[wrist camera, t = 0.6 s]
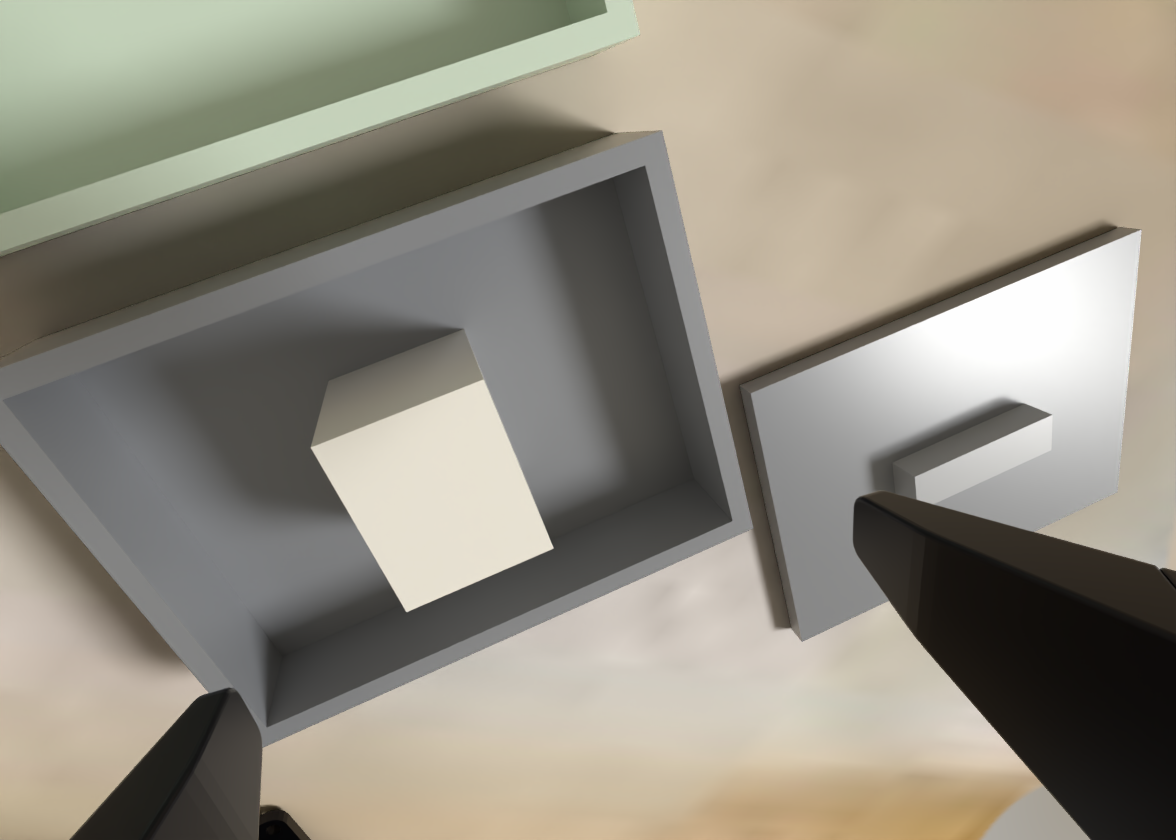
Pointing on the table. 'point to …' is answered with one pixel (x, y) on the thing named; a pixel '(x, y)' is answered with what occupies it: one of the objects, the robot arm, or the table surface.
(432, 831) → the table surface
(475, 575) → the cream block
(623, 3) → the bin
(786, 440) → the bin lid
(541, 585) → the bin
